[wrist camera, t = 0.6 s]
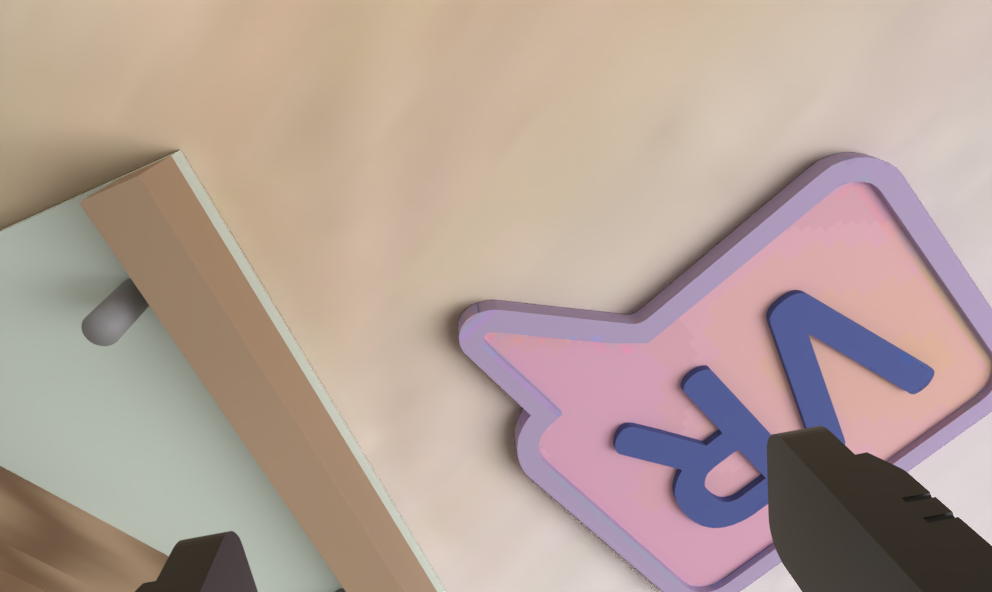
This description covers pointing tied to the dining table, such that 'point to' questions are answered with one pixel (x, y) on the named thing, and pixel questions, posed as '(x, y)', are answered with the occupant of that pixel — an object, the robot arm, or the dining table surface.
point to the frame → (65, 546)
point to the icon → (746, 372)
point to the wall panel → (183, 392)
